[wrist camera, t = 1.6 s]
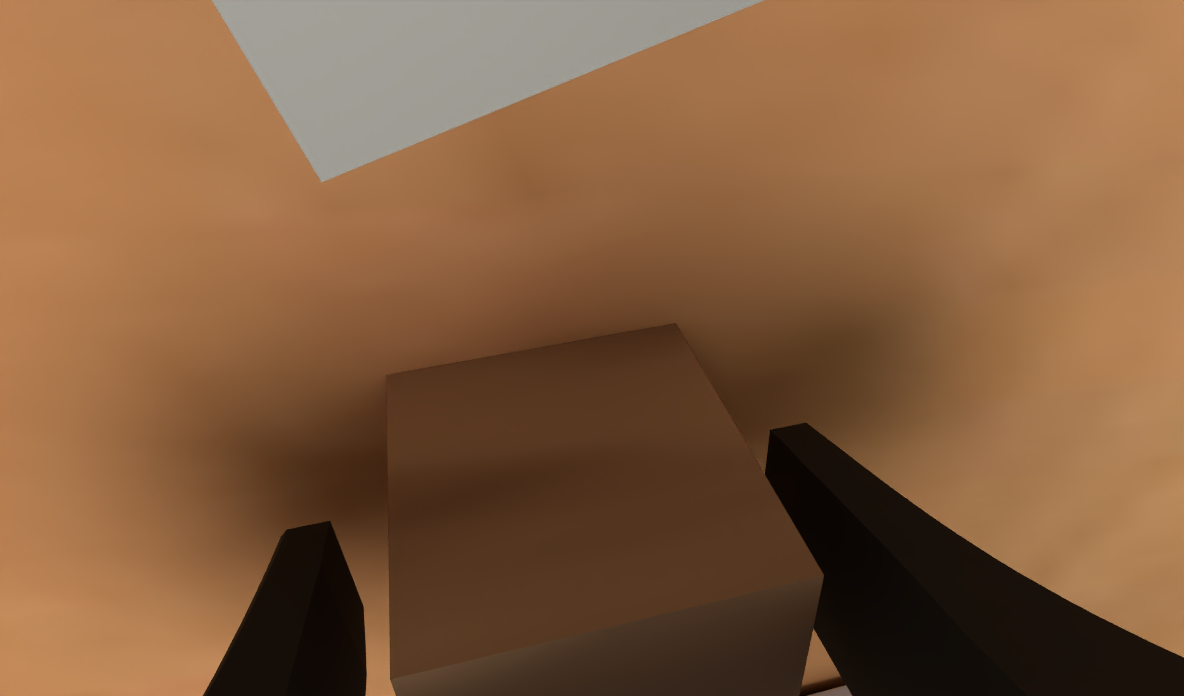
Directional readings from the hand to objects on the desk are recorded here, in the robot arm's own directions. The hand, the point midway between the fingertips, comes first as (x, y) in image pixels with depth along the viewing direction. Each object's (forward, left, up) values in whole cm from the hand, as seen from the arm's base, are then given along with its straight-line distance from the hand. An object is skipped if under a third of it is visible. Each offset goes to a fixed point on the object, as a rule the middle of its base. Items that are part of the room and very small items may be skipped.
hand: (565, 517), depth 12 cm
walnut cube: (0, 0, -2) cm, 2 cm away
